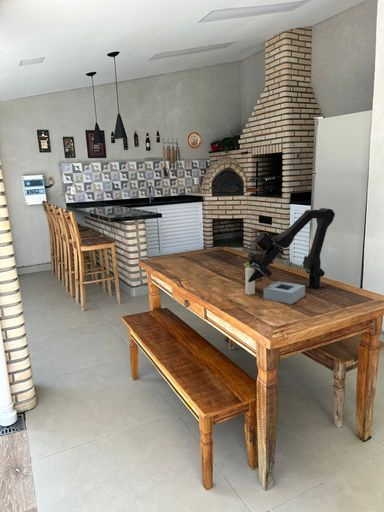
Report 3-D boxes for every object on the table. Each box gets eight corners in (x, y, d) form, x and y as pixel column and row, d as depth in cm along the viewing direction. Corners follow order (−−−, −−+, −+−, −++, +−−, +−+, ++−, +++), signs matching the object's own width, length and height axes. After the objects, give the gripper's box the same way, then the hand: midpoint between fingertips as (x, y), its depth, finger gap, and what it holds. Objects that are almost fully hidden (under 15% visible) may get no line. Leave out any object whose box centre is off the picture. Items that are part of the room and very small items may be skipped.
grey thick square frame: (277, 290, 191) (277, 280, 190) (304, 295, 182) (305, 285, 181) (263, 298, 181) (263, 288, 180) (291, 304, 172) (291, 293, 171)
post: (252, 292, 191) (252, 267, 188) (254, 294, 187) (254, 269, 185) (245, 292, 190) (245, 267, 187) (247, 294, 187) (247, 269, 184)
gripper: (250, 242, 193) (229, 265, 193) (265, 249, 175) (242, 275, 176) (265, 256, 197) (244, 279, 197) (281, 264, 179) (258, 290, 179)
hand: (247, 280), depth 187 cm, fingers closed on post, 3 cm apart
